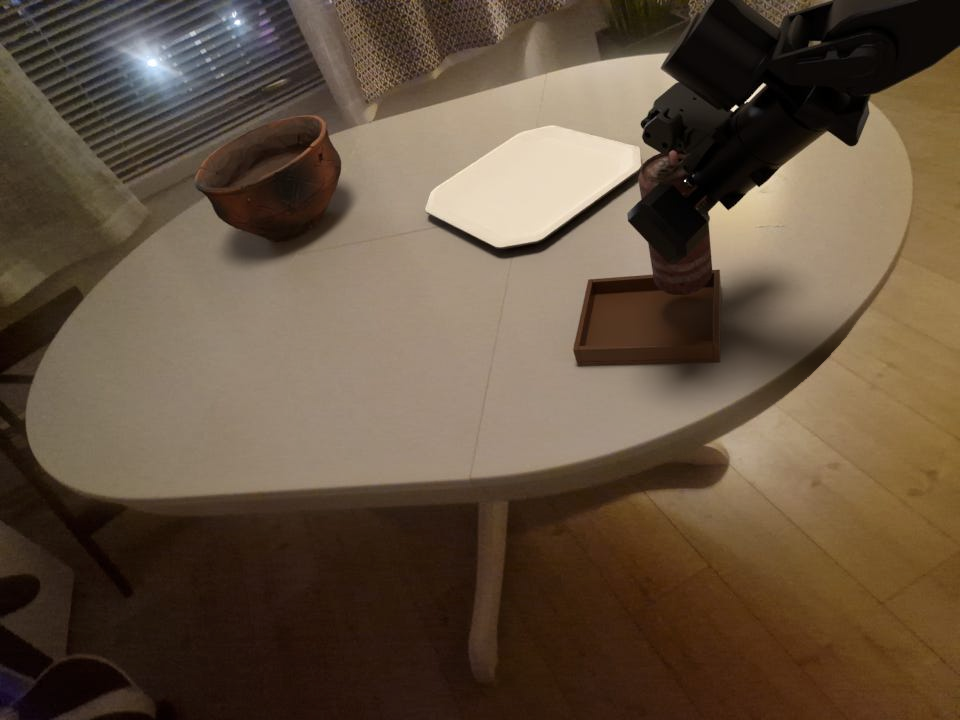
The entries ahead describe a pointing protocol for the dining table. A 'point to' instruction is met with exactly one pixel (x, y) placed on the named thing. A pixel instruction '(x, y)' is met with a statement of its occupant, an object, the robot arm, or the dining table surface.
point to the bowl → (273, 178)
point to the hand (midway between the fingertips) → (665, 220)
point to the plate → (532, 185)
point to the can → (698, 262)
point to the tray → (648, 323)
